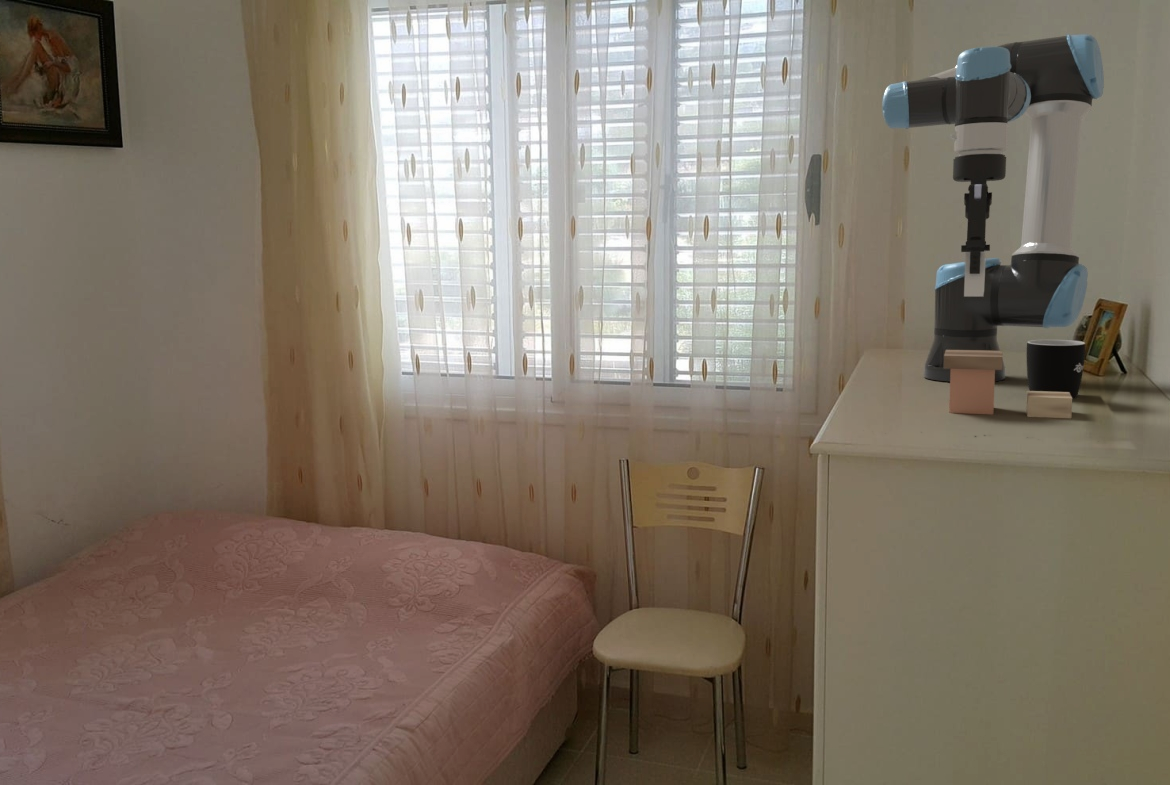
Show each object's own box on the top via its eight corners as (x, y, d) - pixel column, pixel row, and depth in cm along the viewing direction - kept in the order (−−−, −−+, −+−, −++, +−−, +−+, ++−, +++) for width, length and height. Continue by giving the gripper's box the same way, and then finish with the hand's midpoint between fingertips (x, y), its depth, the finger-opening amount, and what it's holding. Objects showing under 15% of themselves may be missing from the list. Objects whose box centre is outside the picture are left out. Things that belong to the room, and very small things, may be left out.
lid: (945, 361, 164) (945, 349, 164) (1001, 363, 161) (1002, 350, 161) (943, 368, 157) (943, 355, 156) (1002, 369, 154) (1002, 356, 153)
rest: (1025, 416, 159) (1026, 390, 159) (1068, 417, 157) (1069, 392, 156) (1027, 422, 154) (1028, 396, 153) (1071, 424, 152) (1072, 398, 151)
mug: (1079, 407, 166) (1082, 345, 164) (1020, 403, 170) (1022, 343, 169) (1087, 397, 176) (1090, 338, 174) (1031, 393, 180) (1034, 337, 179)
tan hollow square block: (950, 411, 164) (951, 362, 163) (992, 413, 162) (994, 363, 161) (948, 418, 159) (950, 367, 157) (993, 420, 156) (995, 369, 155)
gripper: (956, 161, 167) (951, 290, 170) (950, 148, 144) (945, 298, 147) (1005, 159, 165) (999, 290, 168) (1007, 146, 142) (1001, 298, 145)
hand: (974, 294), depth 158 cm, fingers open, 13 cm apart
